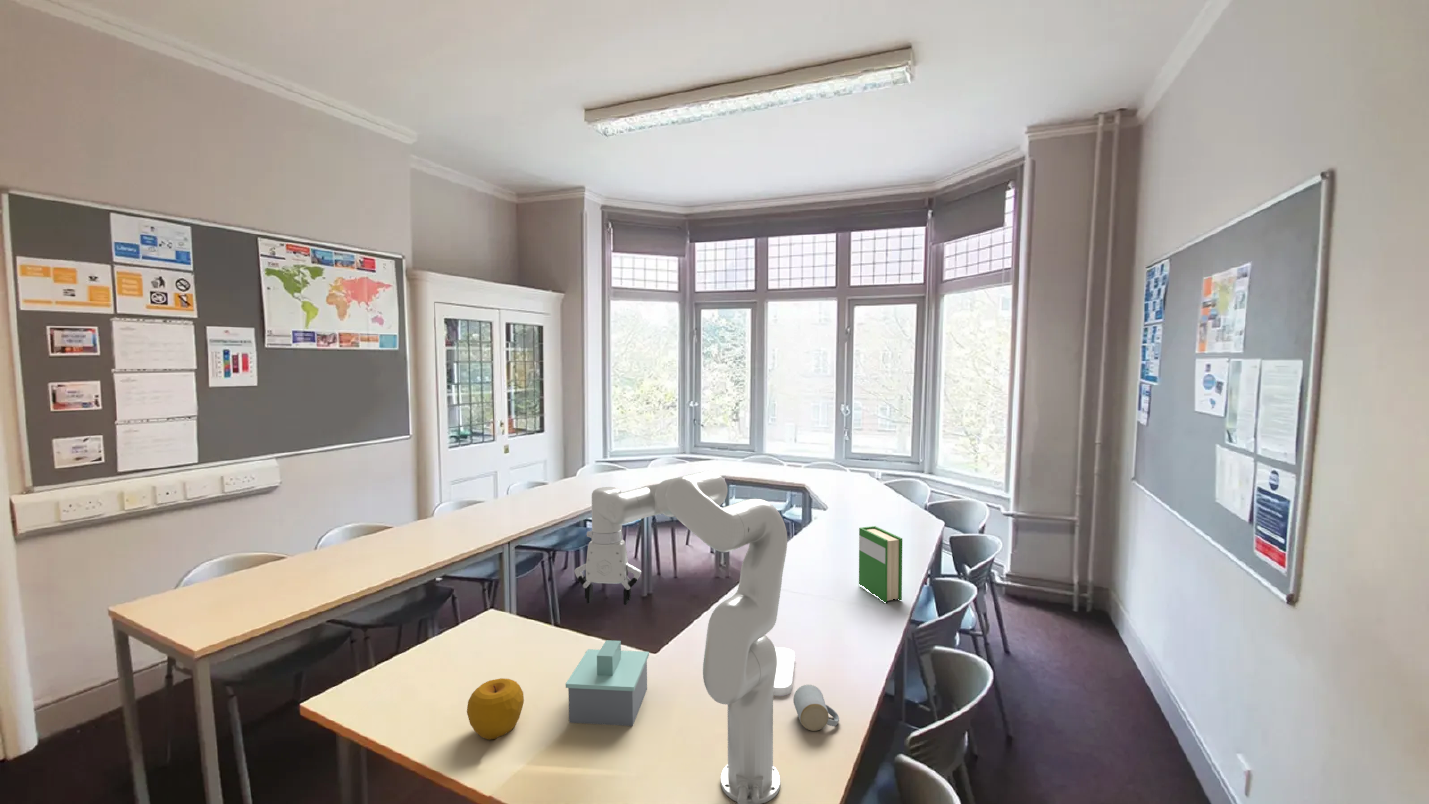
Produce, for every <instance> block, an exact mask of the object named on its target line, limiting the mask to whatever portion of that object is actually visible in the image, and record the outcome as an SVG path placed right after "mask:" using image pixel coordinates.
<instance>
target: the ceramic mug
mask: <svg viewBox="0 0 1429 804" xmlns="http://www.w3.org/2000/svg"><path fill="white" fill-rule="evenodd" d="M792 699H793V705H794V708H795V711H796V713H797V716H798V719H799V722H800V724H801V725H802V726H803V728H805V729H806V730H809V731H811V732H817V731H819V730H820V731H821V730H822V729H824V728H825V726H826V725H828V726H829V727H837V725H838V723H839V722H840V717H839V714H838V713H837V712H836V711H835V709H834V708H832V707H830V706H829V705H828V704H826V702H825V698H824V695H823V693H822V690H820V689H819V687H817V686H815V685H814V684H804V685H801V686H799V687H798V688H796V691H795V692H794V694H793V698H792ZM829 716H831V717H832V719H831V718H829Z"/></svg>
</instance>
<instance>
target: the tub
mask: <svg viewBox="0 0 1429 804" xmlns="http://www.w3.org/2000/svg"><path fill="white" fill-rule="evenodd" d="M647 661H648V660H647ZM647 661H646V664H645V666H644V668H643V671H642V673H641V676H640V678H639V680H638V683H637V685H636V687H635V690H634V691H620V690H600V689H579V688H567V689H568V690H567V691H568V722H569V723H572V724H573V723H574V724H588V725H589V724H591V725H606V726H607V725H608V726H609V725H610V726H624V727H626V726H627V727H629V726H630V727H634V724H635V721H636V719H637V717H638V714H639V711H640V709H641V706H642V704H643V700H644V698H645V695H646V692H647V690H648V662H647Z"/></svg>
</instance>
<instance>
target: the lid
mask: <svg viewBox="0 0 1429 804" xmlns="http://www.w3.org/2000/svg"><path fill="white" fill-rule="evenodd" d="M649 656H650V651H639V650H637V651H636V650H622V641H621V640H609V639H608V640H605V641H604V643H603V645H602V646H601V647H600V649H596V648H595V649H591V648H588V649H587V650H586V652H585V653H584V654H583V656H582V658H581V659H580V660H579V662H578V664H577V665H576V667H575V669H574V670H573V672H572V674H571V675H570V676H569V678H568V679H567V681H566V682H565V689H568V688H579V689H600V690H620V691H634V690H635V687H636V685H637V683H638V680H639V678H640V676H641V673H642V671H643V668H644V666H645V664H646V661H648V659H649Z"/></svg>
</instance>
